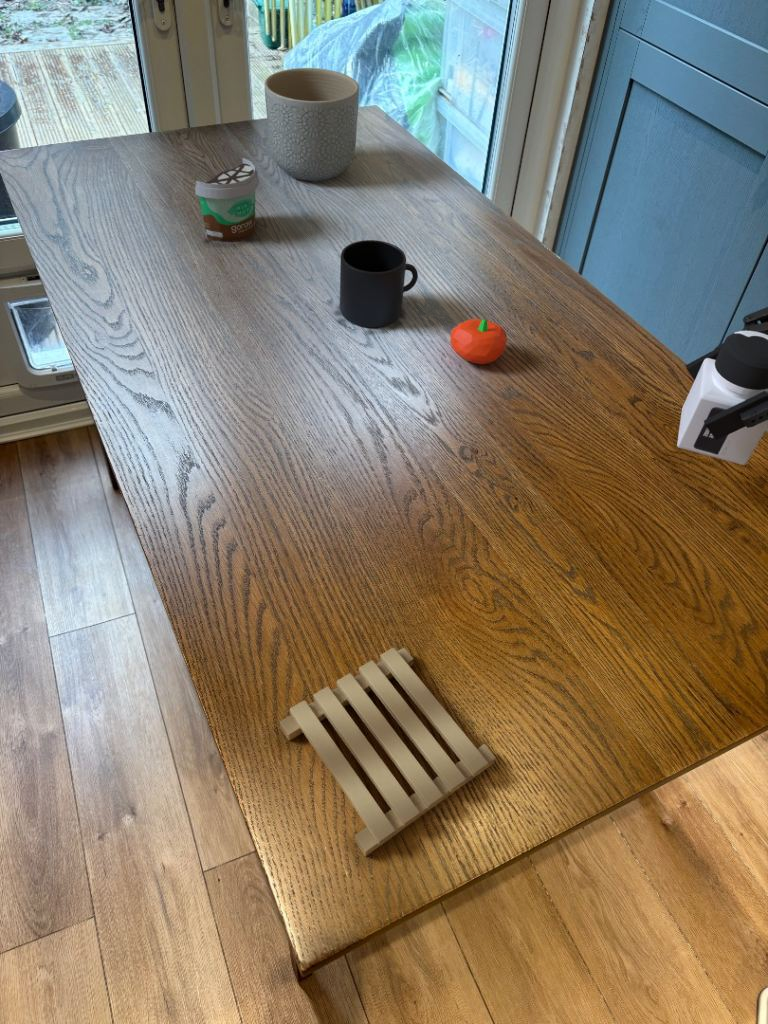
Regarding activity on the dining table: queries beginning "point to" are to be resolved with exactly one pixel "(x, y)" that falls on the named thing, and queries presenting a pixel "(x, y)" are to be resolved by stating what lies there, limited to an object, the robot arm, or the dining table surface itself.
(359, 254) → the mug
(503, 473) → the dining table surface
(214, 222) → the food container
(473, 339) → the pumpkin
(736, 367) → the container
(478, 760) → the rack
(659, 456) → the dining table surface
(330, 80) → the planter
